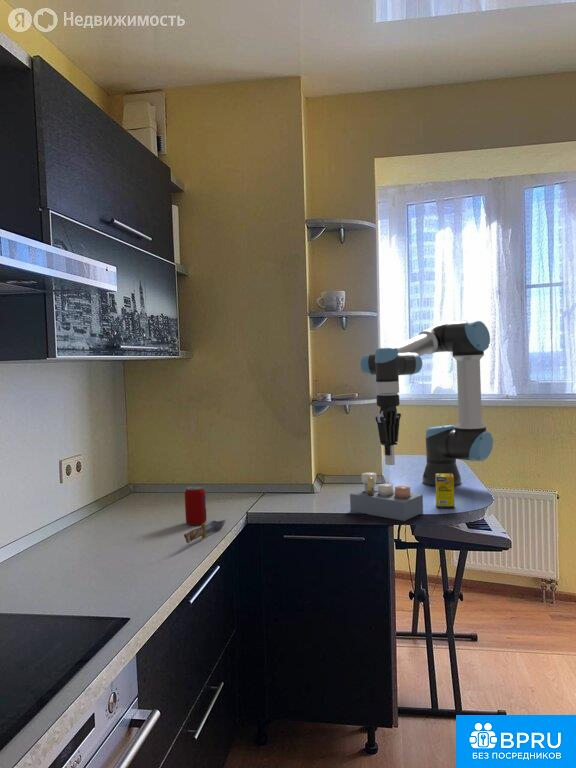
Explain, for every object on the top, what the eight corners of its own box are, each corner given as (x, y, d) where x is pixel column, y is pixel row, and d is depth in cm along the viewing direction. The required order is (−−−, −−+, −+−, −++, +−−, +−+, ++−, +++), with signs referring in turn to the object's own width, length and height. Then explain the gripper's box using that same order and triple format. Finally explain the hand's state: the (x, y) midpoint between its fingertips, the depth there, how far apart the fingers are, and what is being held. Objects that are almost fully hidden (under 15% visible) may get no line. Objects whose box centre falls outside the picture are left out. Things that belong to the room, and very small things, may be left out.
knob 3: (400, 509, 195) (399, 485, 195) (413, 511, 192) (413, 487, 192) (392, 512, 192) (391, 488, 191) (405, 515, 188) (405, 490, 188)
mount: (370, 503, 208) (369, 487, 207) (423, 512, 194) (422, 494, 193) (350, 511, 199) (349, 493, 198) (404, 520, 185) (404, 502, 184)
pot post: (370, 494, 196) (369, 476, 196) (375, 495, 195) (374, 477, 195) (366, 495, 195) (366, 477, 195) (371, 496, 194) (371, 478, 193)
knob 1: (367, 495, 204) (367, 471, 203) (379, 496, 200) (379, 473, 200) (359, 498, 200) (358, 474, 200) (371, 500, 197) (371, 476, 196)
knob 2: (383, 506, 200) (383, 483, 199) (396, 508, 196) (395, 484, 196) (375, 509, 196) (375, 485, 196) (388, 512, 193) (387, 487, 192)
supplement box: (454, 508, 197) (454, 476, 196) (436, 508, 198) (435, 476, 197) (453, 504, 202) (452, 473, 202) (435, 504, 204) (435, 473, 203)
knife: (225, 525, 187) (224, 510, 187) (229, 526, 186) (228, 510, 186) (183, 550, 164) (182, 533, 164) (187, 551, 164) (186, 533, 163)
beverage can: (211, 521, 192) (209, 486, 192) (197, 527, 186) (195, 490, 186) (195, 519, 196) (194, 484, 195) (181, 524, 190) (179, 488, 190)
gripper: (387, 392, 200) (390, 460, 202) (367, 395, 190) (369, 466, 192) (407, 392, 196) (409, 462, 197) (387, 395, 186) (389, 469, 187)
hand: (390, 464), depth 194 cm, fingers closed
